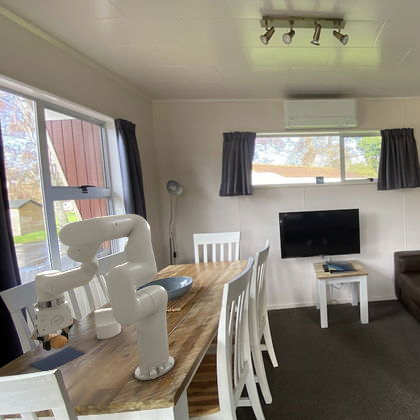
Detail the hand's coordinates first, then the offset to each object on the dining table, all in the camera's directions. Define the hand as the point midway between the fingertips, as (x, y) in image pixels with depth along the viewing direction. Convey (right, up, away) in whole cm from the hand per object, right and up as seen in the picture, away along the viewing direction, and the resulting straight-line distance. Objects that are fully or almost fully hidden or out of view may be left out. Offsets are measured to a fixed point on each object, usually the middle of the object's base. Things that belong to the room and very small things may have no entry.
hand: (56, 345), depth 108 cm
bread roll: (0, 0, 0) cm, 0 cm away
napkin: (0, -6, 0) cm, 6 cm away
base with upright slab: (+6, -4, +19) cm, 20 cm away
